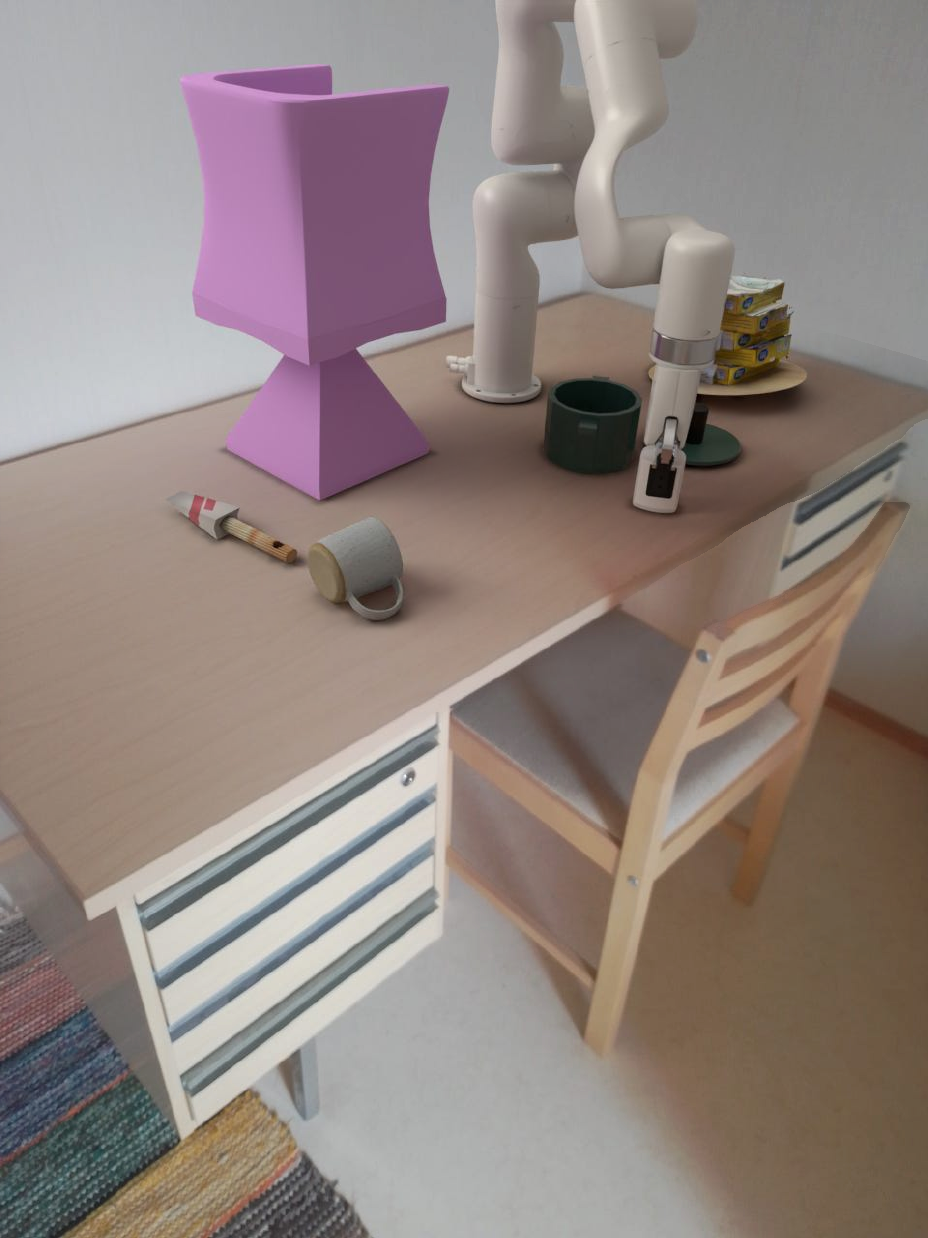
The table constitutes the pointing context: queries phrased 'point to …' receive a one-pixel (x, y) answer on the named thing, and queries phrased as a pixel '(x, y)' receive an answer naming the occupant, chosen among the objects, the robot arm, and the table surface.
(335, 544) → the ceramic mug
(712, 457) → the lid
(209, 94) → the pink goblet vase
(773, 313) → the boxes on wooden plate
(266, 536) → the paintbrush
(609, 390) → the pot
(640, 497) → the eye dropper bottle
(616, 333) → the table surface
